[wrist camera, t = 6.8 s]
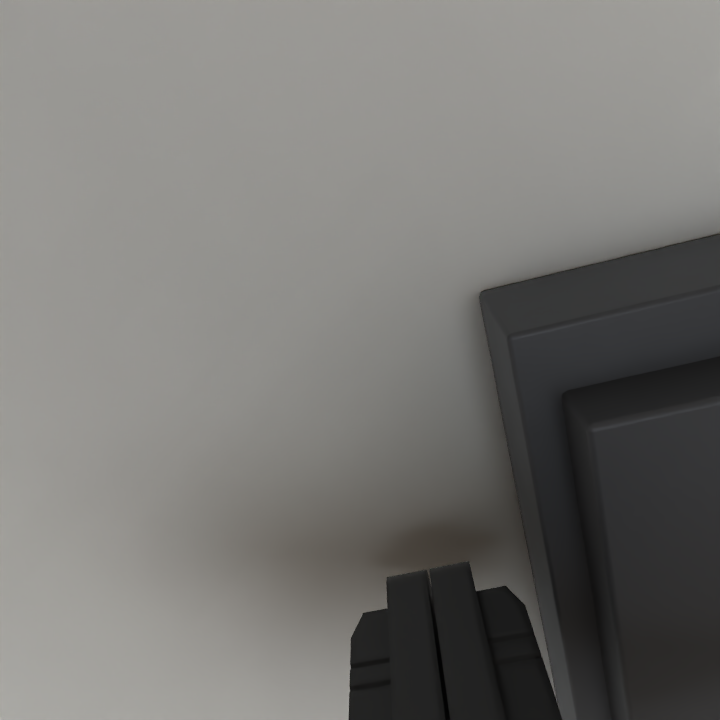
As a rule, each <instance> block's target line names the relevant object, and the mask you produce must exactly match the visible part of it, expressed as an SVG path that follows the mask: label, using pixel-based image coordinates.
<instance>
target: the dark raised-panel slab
mask: <svg viewBox="0 0 720 720" xmlns="http://www.w3.org/2000/svg"><path fill="white" fill-rule="evenodd" d="M479 299H480V304H481V310H482V315H483V320H484V325H485V330H486V335H487V340H488V346H489V351H490V356H491V361H492V366H493V371H494V377H495V382H496V387H497V392H498V397H499V402H500V407H501V413H502V418H503V423H504V428H505V433H506V438H507V443H508V449H509V454H510V459H511V464H512V469H513V474H514V480H515V485H516V490H517V495H518V500H519V505H520V510H521V516H522V521H523V526H524V531H525V536H526V541H527V547H528V552H529V557H530V562H531V567H532V572H533V577H534V583H535V588H536V593H537V598H538V603H539V608H540V613H541V619H542V624H543V629H544V634H545V639H546V644H547V650H548V655H549V660H550V665H551V670H552V675H553V680H554V686H555V691H556V696H557V701H558V706H559V711H560V714H561V717H562V720H720V234H718V235H714V236H710V237H706V238H702V239H698V240H694V241H689V242H685V243H681V244H677V245H673V246H669V247H665V248H660V249H656V250H652V251H648V252H644V253H640V254H636V255H631V256H627V257H623V258H619V259H615V260H611V261H607V262H602V263H598V264H594V265H590V266H586V267H582V268H578V269H573V270H569V271H565V272H561V273H557V274H553V275H549V276H544V277H540V278H536V279H532V280H528V281H524V282H520V283H515V284H511V285H507V286H503V287H499V288H495V289H490V290H486V291H483V292H481V293H480V295H479Z"/></svg>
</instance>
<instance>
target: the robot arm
mask: <svg viewBox="0 0 720 720" xmlns="http://www.w3.org/2000/svg"><path fill="white" fill-rule="evenodd" d="M430 579H431V583H430ZM430 579H429V576H428V572H427V570H422V571H417V572H412V573H407V574H402V575H397V576H392V577H387V606H388V609H382V610H377V611H372V612H367V613H363V615H362V617H361V619H360V621H359V623H358V625H357V627H356V629H355V631H354V633H353V635H352V637H351V659H350V665H351V670H350V694H349V720H562V717H561V714H560V711H559V708H558V705H557V702H556V699H555V696H554V692H553V689H552V686H551V683H550V680H549V677H548V674H547V671H546V668H545V665H544V662H543V659H542V657H541V653H540V650H539V647H538V644H537V640H536V637H535V635H534V632H533V628H532V625H531V622H530V619H529V616H528V613H527V610H526V607H525V605H524V604H523V603H522V602H521V601H520V600H519V599H518V598H517V597H516V596H515V595H514V594H513V593H512V591H511V590H510V589H509V588H508V587H507V586H502V587H496V588H491V589H486V590H481V591H476V589H475V585H474V581H473V577H472V572H471V568H470V564H469V561H467V562H462V563H457V564H452V565H447V566H442V567H437V568H432V569H430ZM431 586H432V587H431Z"/></svg>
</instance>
